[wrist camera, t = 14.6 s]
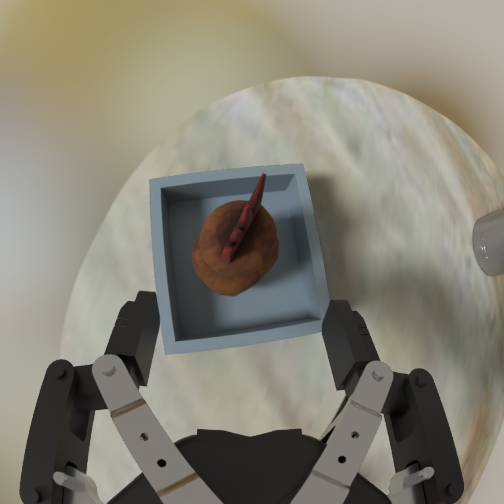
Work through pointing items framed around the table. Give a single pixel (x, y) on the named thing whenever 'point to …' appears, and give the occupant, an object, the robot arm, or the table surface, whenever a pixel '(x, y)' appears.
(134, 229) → the table surface
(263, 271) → the wooden figurine
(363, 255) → the table surface
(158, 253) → the box
